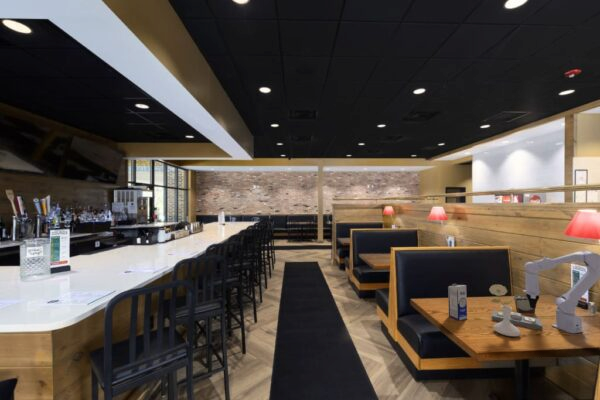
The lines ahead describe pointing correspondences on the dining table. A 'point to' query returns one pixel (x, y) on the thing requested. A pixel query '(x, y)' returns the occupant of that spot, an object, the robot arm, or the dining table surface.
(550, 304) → the dining table surface
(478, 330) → the dining table surface
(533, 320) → the cream key
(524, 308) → the food container
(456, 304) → the milk carton
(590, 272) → the robot arm
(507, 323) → the flower in vase
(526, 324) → the keypad
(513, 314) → the grey key
